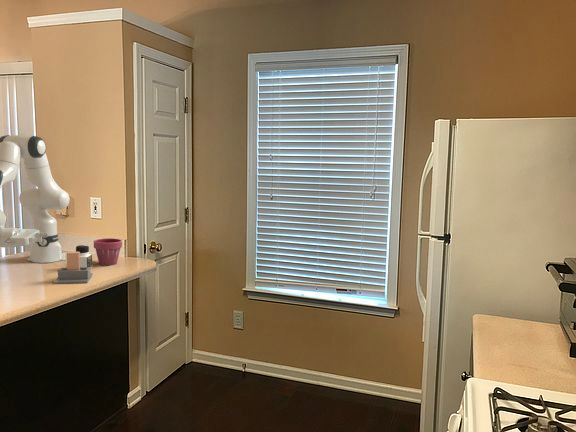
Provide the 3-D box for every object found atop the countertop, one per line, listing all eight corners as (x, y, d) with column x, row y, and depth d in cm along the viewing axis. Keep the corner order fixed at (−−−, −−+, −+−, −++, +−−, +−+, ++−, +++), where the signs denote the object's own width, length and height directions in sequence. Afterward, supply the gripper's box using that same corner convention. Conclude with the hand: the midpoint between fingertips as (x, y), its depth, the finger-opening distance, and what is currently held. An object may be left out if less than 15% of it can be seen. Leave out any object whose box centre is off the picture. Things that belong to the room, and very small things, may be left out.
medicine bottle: (87, 270, 232) (86, 247, 230) (72, 270, 231) (72, 246, 230) (92, 267, 239) (91, 244, 237) (78, 266, 238) (77, 244, 237)
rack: (61, 275, 220) (61, 265, 219) (92, 275, 223) (92, 265, 223) (53, 283, 206) (53, 273, 206) (87, 283, 210) (86, 272, 209)
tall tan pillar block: (68, 276, 216) (68, 251, 214) (80, 276, 217) (79, 251, 215) (67, 278, 213) (66, 253, 211) (78, 278, 214) (78, 253, 212)
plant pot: (123, 260, 256) (123, 237, 254) (121, 266, 243) (121, 242, 241) (95, 260, 252) (95, 238, 250) (92, 267, 239) (91, 243, 237)
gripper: (2, 235, 196) (38, 235, 199) (18, 226, 215) (50, 226, 219) (3, 249, 197) (38, 249, 200) (18, 239, 216) (50, 239, 220)
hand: (44, 237), depth 210 cm, fingers open, 8 cm apart
